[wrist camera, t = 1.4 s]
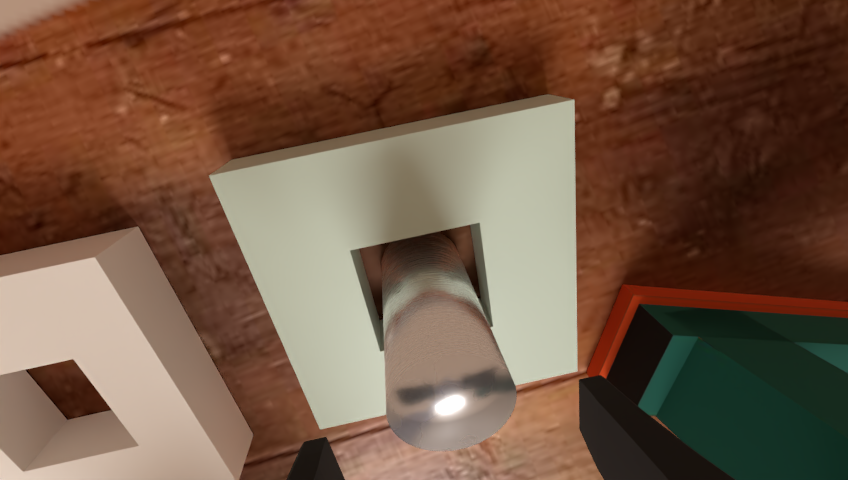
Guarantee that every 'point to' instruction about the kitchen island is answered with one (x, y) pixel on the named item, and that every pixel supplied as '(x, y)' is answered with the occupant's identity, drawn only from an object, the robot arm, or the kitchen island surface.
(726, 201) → the kitchen island surface
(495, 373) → the steel peg
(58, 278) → the cream square-hole board
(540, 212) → the socket block
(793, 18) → the kitchen island surface
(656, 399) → the power tool
